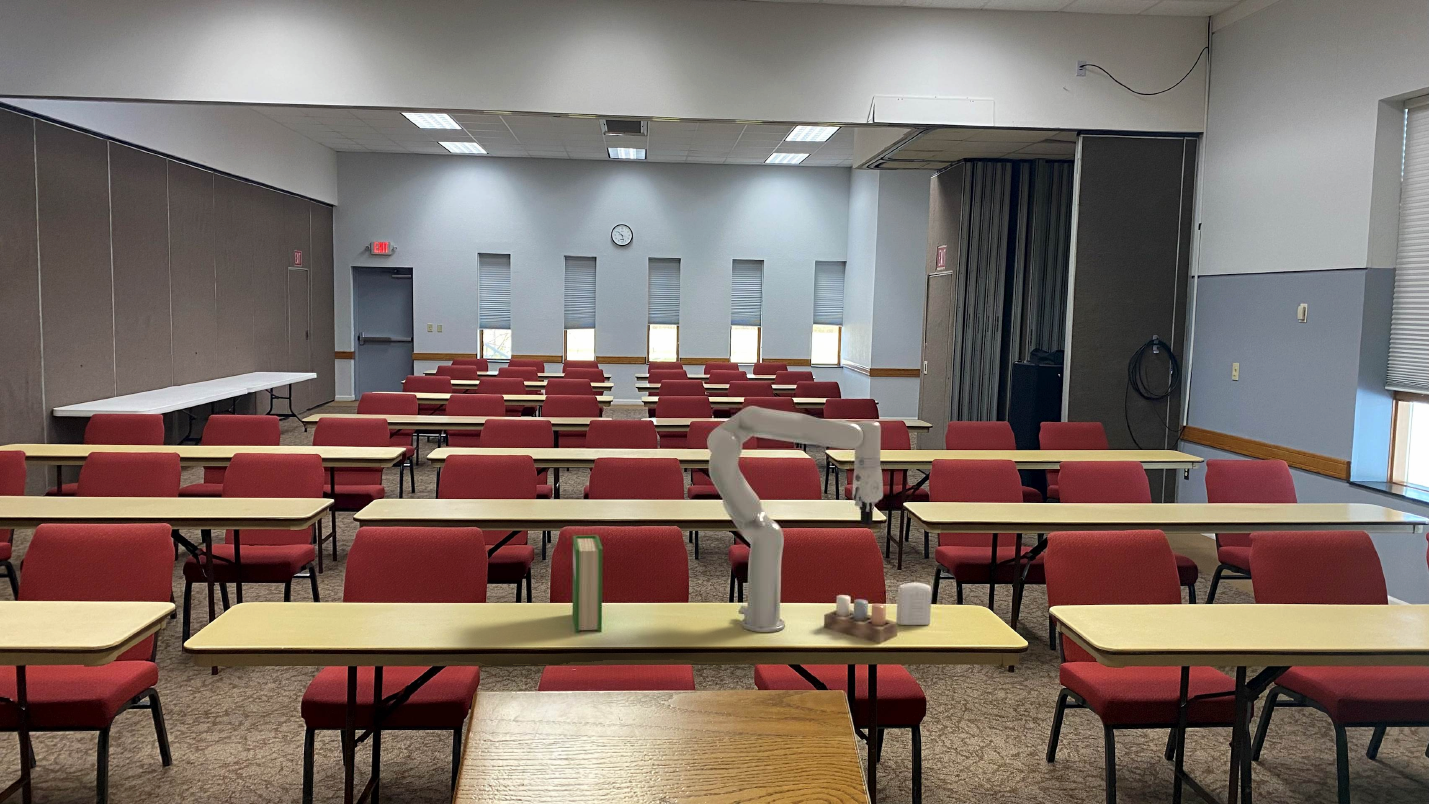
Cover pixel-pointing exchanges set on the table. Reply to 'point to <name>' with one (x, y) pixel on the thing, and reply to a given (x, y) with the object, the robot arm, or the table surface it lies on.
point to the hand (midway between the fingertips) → (866, 523)
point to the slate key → (860, 610)
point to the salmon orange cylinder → (878, 615)
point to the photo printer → (913, 604)
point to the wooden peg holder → (860, 627)
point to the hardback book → (587, 583)
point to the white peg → (843, 605)
